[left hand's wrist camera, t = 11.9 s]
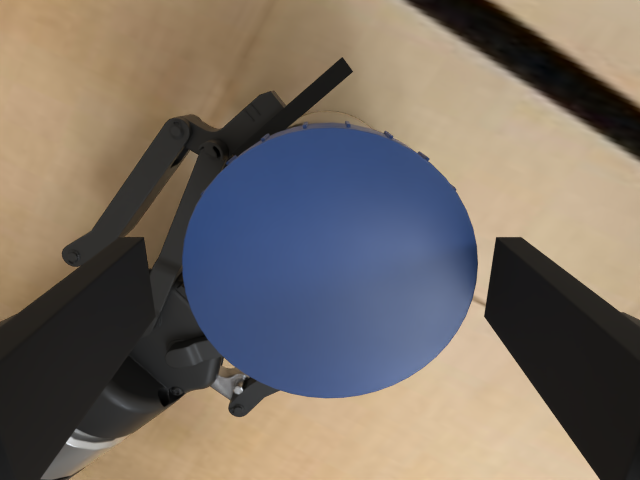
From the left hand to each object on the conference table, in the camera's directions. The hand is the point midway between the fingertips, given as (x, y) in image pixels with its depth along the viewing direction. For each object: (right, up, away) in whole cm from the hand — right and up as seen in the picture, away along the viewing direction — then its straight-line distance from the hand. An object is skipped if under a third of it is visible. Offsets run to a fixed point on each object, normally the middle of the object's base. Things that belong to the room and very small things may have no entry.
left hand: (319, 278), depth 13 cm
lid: (0, 0, 0) cm, 0 cm away
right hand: (+4, +6, +8) cm, 10 cm away
